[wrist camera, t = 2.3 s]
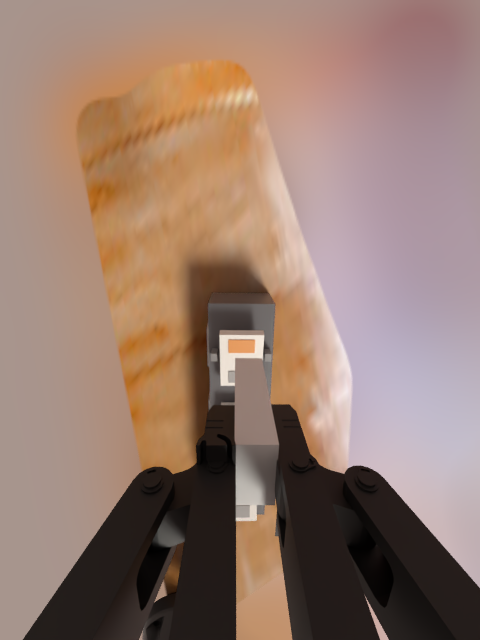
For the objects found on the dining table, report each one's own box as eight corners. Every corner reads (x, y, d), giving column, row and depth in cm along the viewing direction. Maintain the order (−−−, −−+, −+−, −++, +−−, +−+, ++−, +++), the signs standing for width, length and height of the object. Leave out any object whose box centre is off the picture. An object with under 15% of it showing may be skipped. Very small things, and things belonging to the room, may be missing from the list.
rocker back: (255, 511, 33) (256, 521, 31) (221, 512, 33) (221, 521, 31) (256, 463, 32) (257, 471, 31) (221, 463, 32) (221, 471, 31)
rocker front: (259, 377, 29) (260, 386, 28) (221, 376, 29) (220, 386, 28) (263, 327, 26) (264, 335, 25) (220, 327, 26) (219, 335, 25)
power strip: (260, 480, 39) (265, 524, 33) (213, 480, 39) (209, 525, 33) (269, 293, 31) (277, 307, 25) (209, 292, 31) (203, 307, 25)
